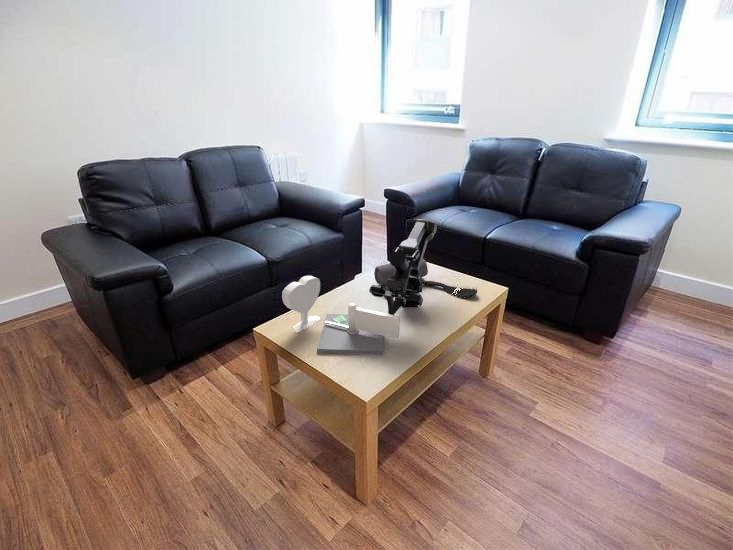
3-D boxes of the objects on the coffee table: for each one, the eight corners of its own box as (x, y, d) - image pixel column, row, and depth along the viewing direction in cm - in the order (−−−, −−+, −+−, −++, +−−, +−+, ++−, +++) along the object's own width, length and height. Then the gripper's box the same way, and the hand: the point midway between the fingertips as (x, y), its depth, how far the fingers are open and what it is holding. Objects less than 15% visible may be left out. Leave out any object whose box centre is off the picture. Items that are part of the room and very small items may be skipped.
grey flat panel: (384, 318, 147) (384, 314, 146) (383, 354, 128) (383, 349, 127) (327, 317, 148) (326, 312, 148) (317, 352, 129) (316, 347, 128)
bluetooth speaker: (382, 291, 167) (382, 270, 162) (373, 282, 175) (373, 262, 170) (427, 281, 175) (429, 261, 170) (417, 273, 182) (418, 254, 178)
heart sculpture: (314, 312, 151) (311, 271, 143) (323, 317, 149) (321, 275, 141) (284, 331, 140) (279, 287, 132) (294, 335, 137) (289, 291, 130)
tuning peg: (323, 324, 140) (322, 300, 135) (327, 320, 142) (326, 296, 138) (396, 342, 130) (397, 317, 125) (399, 337, 132) (400, 312, 128)
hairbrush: (425, 274, 176) (480, 285, 163) (425, 282, 177) (479, 293, 165) (417, 281, 170) (473, 293, 157) (417, 289, 171) (473, 301, 158)
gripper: (371, 264, 135) (358, 306, 131) (422, 273, 129) (411, 317, 125) (379, 275, 145) (367, 314, 141) (427, 284, 139) (417, 325, 135)
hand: (389, 317), depth 135 cm, fingers closed
